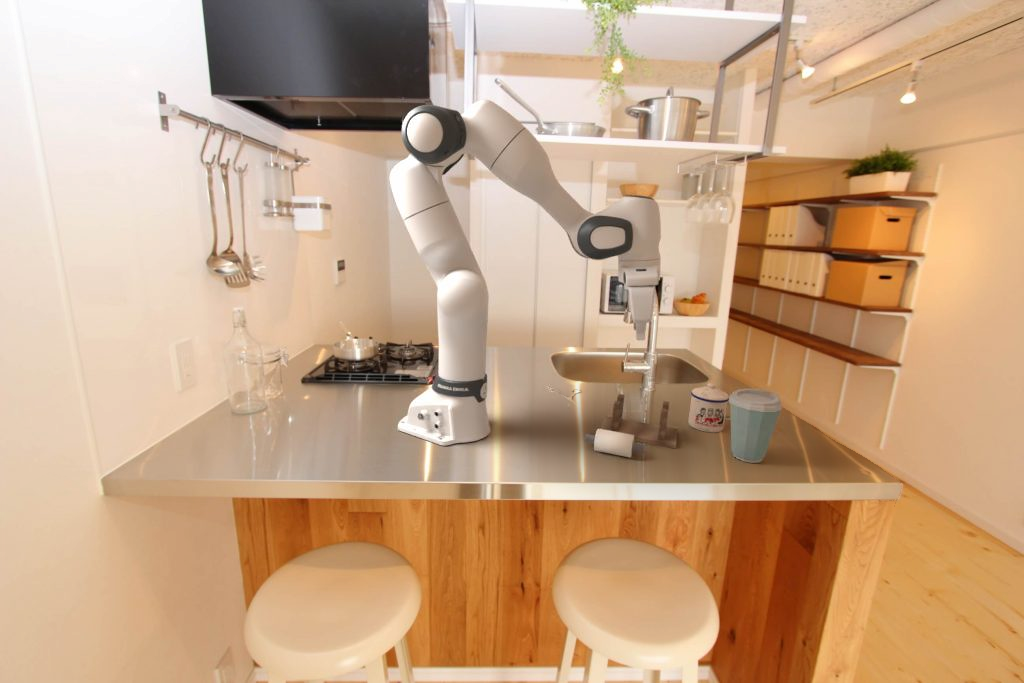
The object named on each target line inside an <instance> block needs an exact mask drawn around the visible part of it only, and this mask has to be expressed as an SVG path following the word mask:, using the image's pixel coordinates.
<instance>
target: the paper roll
mask: <svg viewBox="0 0 1024 683" xmlns="http://www.w3.org/2000/svg"><path fill="white" fill-rule="evenodd" d="M584 441H585V442H589V443H593V449H594V450H593V451H595V452H600V453H605V454H610V455H615V456H622V457H623V458H624V457H625V458H629V459H630V458H632V456H633V452H634V451H635V452H640V453H644V451H645V444H641V443H635V441H634V435H631V434H625V433H620V432H614V431H609V430H604V429H600V428H597V429H596V432H595V435H594V434H588V433H586V434H585V436H584Z"/></svg>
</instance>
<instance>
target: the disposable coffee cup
mask: <svg viewBox="0 0 1024 683" xmlns="http://www.w3.org/2000/svg"><path fill="white" fill-rule="evenodd" d="M728 401H729V402H730V404H729V405H730V406H729V408H730V411H729V412H730V415H729V416H730V417H731V419H730V447H731V448H730V450H731V453H733V454H732V457H734V458H735V457H736V459H737V460H739V459H740V461H742V462H745V463H751V464H753V463H754V464H755V463H761V462H762V461H763V460H764V459H765V458H766V454H767V451H768V448H769V444H770V441H771V439H772V436H773V433H774V429H775V426H776V425H777V421H778V418H779V416H780V413H781V410H782V411H783V409H782V408H783V407H782V406H783V403H782V402H781V399H780V395H778V394H776V393H774V392H771V391H769V390H765V389H761V388H741V389H737V390H734V391H733V392H732V393H730V394H729V400H728Z"/></svg>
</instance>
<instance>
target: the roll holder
mask: <svg viewBox="0 0 1024 683" xmlns="http://www.w3.org/2000/svg"><path fill="white" fill-rule="evenodd" d="M624 401H625V394H622V393H621V394H620V393H618V395H617V397H616V400H615V401H614V402H613V409H612V416H609V415H606V416H605V418H604V419H603V422H602V423H601V426H600V428H599V429H604V430H609V431H614V432H620V433H625V434H631V435H634V442H639V443H644V444H648V445H649V444H650V445H654V446H659V447H665V448H672V449H675V448H677V443H678V442H677V441H678V434H679V428H676V427H671V426H667V425H668V417H669V410H670V401H666V400H663V402H662V407H661V411H660V417H659V424H652V423H649V422H648V423H647V422H644V421H636V420H631V419H630V420H629V419H624V418H623V412H624Z"/></svg>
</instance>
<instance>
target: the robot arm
mask: <svg viewBox="0 0 1024 683" xmlns="http://www.w3.org/2000/svg"><path fill="white" fill-rule="evenodd" d="M401 138H402V142H403V145H404V148H405V150H406V151H407V152H408V153H409V155H408V156H407V157H406V158H405V159H403V160H401V161H400V162H398V163H397V164H396V165H395V166H394V167H393V168H392V169H391V171H390V174H389V182H390V189H391V191H392V194H393V198H394V200H395V204H396V207H397V209H398V212H399V215H400V216H401V219H402V221H403V224H404V226H405V228H406V230H407V231H408V234H409V236H410V238H411V240H412V243H413V245H414V247H415V249H416V252H417V254H418V257H420V259H421V261H422V262H423V263H424V266H425V268H426V269H427V271H428V273H429V274H430V277H431V278H432V280H433V282H434V284H435V286H436V288H437V290H436V291H437V292H436V308H437V309H436V310H437V313H436V314H437V315H436V316H437V336H438V371H437V372H435V373H433V374H432V376H430V377H428V378H427V379H428V380H429V381H428V383H432V384H431V387H430V388H428V389H427V390H425V391H424V392H422V393H421V394H419V395H418V396H417V397H415V398H414V399H413V400H412V401H411V403H410V404H409V407H408V411H407V415H405V416H404V417H403V418H402V419H401V420H400V421H399V422H398V424H397V431H399V432H403V433H406V434H408V435H411V436H414V437H417V438H419V439H423V440H425V441H428V442H431V443H434V444H437V445H440V446H450V445H451V446H452V445H454V444H459V443H461V444H462V443H470V442H476V441H479V440H481V439H484V438H486V437H487V436H489V434H490V433H491V430H492V429H491V426H490V423H489V416H488V411H487V410H488V409H487V400H486V399H487V396H488V374H487V373H486V369H487V340H488V321H489V320H488V318H489V317H488V316H489V298H490V297H489V290H488V286H487V281H486V280H485V277H484V275H483V272H482V271H481V268H480V266H479V263H478V261H477V259H476V257H475V254H474V252H473V250H472V248H471V245H470V244H469V242H468V239H467V237H466V235H465V232H464V230H463V227H462V225H461V223H460V220H459V218H458V216H457V213H456V211H455V209H454V206H453V204H452V202H451V200H450V197H449V195H448V193H447V190H446V188H445V185H444V182H443V176H444V175H446V174H448V172H449V171H450V170H451V169H452V168H453V167H454V166H456V165H457V164H458V163H459V162H460V161H461V160H462V158H463V157H464V156H465V155H466V154H468V155H471V156H472V157H475V158H476V159H477V160H478V161H479V162H480V163H482V164H483V165H484V166H485V167H486V168H487V169H488V170H489V171H490V172H491V174H493V175H494V176H495V177H496V178H498V179H499V180H500V181H501V182H502V183H504V184H505V185H507V186H508V187H510V188H511V189H513V190H514V191H516V192H518V193H519V194H521V195H523V196H525V197H526V198H528V199H531V200H532V201H533V202H534V203H536V204H537V205H539V206H540V207H541V208H543V210H544V212H546V213H548V215H549V216H550V217H551V218H553V220H554V221H555V222H557V223H558V225H559V226H560V227H562V229H563V230H564V231H565V233H566V235H567V237H568V240H569V243H570V244H571V247H572V249H573V250H574V251H575V253H576V254H578V256H580V257H582V258H585V259H588V260H589V259H590V260H591V261H592V260H593V261H604V260H607V259H609V258H613V257H617V260H618V262H617V263H618V265H617V266H618V267H617V268H618V271H617V272H618V273H617V274H618V278H617V280H618V282H619V283H622V284H623V286H624V288H623V289H624V290H628V307H629V312H630V314H631V317H632V322H633V330H634V331H635V333H636V335H635V336H636V337H635V338H636V340H637V341H645V340H646V331H647V324H650V323H651V322H652V320H653V314H654V304H655V297H656V296H655V295H656V294H655V293H656V286H658V285H659V281H660V280H661V261H662V260H661V254H660V246H659V245H660V242H661V238H662V234H661V233H662V228H661V227H662V226H661V212H660V211H661V210H660V206H659V203H658V202H657V201H656V200H655V199H654V198H653V197H649V196H645V195H636V194H633V195H632V194H627V195H623V196H621V198H620V199H618V200H617V201H616V202H614V203H613V204H611V205H609V206H608V207H607V208H604V209H603V210H601V211H598V212H596V213H593V212H591V211H588V210H586V209H584V208H585V207H582V205H580V203H579V202H578V201H577V200H576V199H575V198H573V196H572V195H571V194H570V193H569V192H568V191H567V190H566V189H565V188H564V187H563V186H562V185H561V183H560V182H559V181H558V179H557V177H556V176H555V173H554V171H553V169H552V165H551V162H550V158H549V156H548V154H547V152H546V150H545V149H544V147H543V145H541V143H540V142H539V140H538V139H537V138H536V137H535V136H534V135H533V133H532V132H531V131H530V130H529V129H528V128H527V127H526V126H525V125H523V124H522V122H520V121H519V120H518V119H517V118H516V117H515V116H513V115H512V114H511V113H510V112H508V111H507V110H505V109H504V108H503V107H502V106H500V105H498V104H497V103H496V102H494V101H492V100H489V99H481V100H478V101H476V102H474V103H472V104H471V105H470V106H469V107H468V108H467V109H466V110H465V111H464V112H463V113H462V114H461V113H460V112H459V111H458V110H456V109H452V108H446V107H442V106H440V105H439V106H438V105H436V104H435V105H434V104H423V105H419V106H417V107H415V108H413V109H411V110H410V111H409V112H408V113H407V115H406V116H405V117H404V119H403V122H402V125H401Z"/></svg>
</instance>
